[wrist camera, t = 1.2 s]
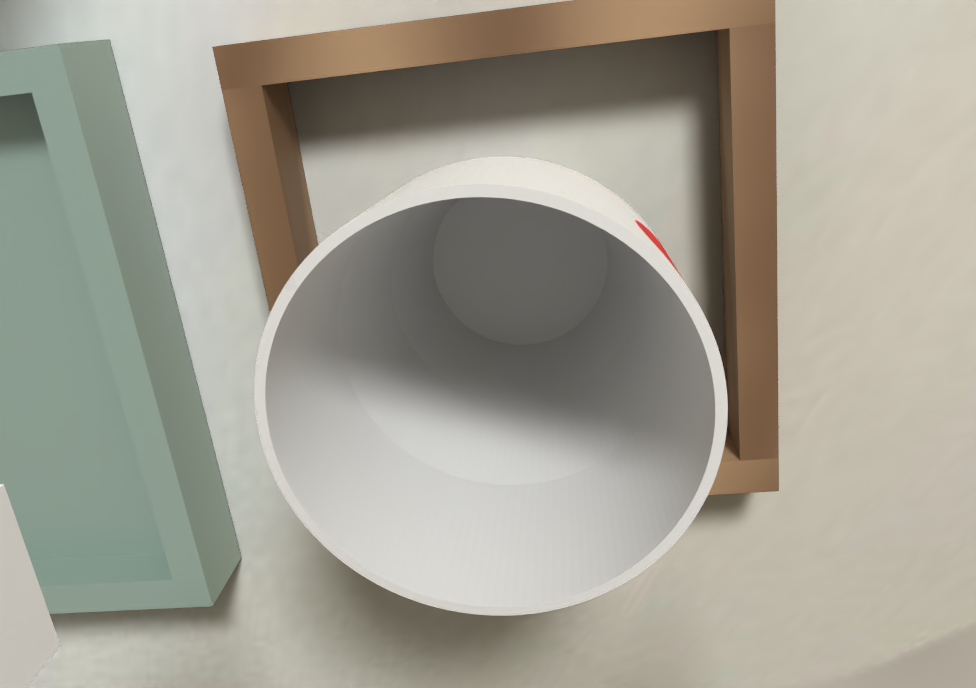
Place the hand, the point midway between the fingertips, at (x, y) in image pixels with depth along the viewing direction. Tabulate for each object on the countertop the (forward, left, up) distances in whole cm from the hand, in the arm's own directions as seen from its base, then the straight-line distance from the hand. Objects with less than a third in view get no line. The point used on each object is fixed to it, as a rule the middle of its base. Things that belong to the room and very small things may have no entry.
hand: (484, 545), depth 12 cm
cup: (0, 0, -14) cm, 14 cm away
